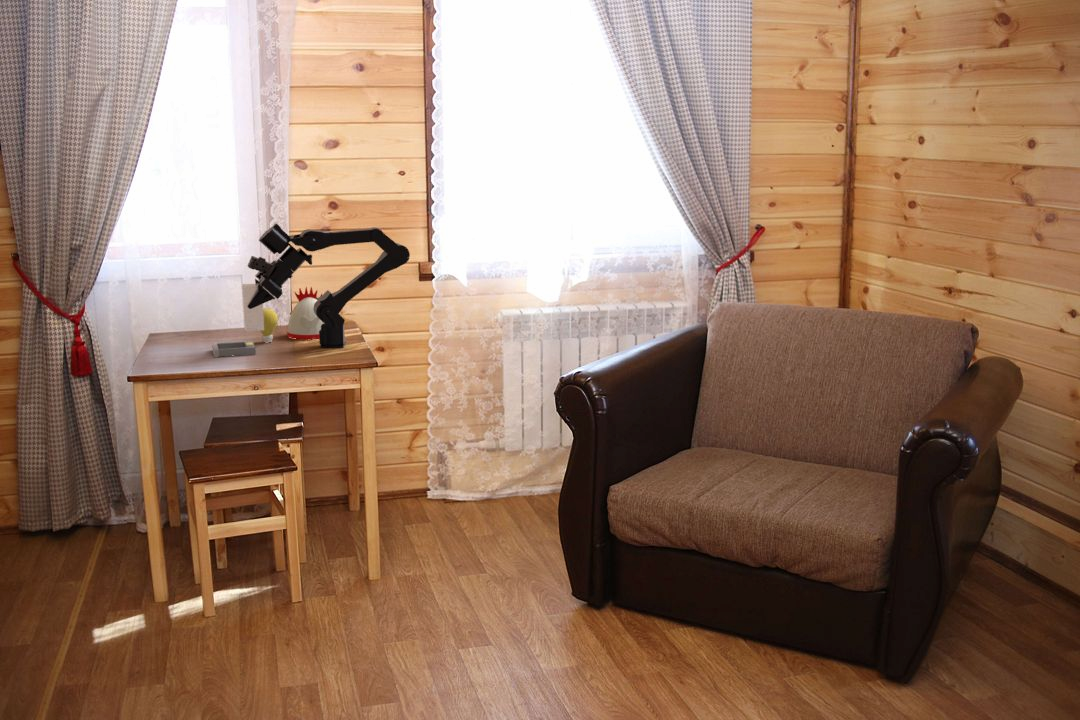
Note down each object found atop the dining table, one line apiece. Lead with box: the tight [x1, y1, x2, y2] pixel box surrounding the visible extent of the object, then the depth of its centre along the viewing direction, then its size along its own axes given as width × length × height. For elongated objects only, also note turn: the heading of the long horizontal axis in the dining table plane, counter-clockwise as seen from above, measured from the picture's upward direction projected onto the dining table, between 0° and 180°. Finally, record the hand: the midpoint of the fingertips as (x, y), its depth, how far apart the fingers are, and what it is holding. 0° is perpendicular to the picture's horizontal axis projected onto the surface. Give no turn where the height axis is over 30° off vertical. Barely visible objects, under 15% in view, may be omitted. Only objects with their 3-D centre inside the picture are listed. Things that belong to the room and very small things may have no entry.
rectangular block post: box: [241, 283, 264, 332], centre depth 296 cm, size 5×5×12 cm
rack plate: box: [211, 340, 256, 358], centre depth 297 cm, size 11×10×2 cm
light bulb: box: [259, 308, 279, 343], centre depth 310 cm, size 7×7×10 cm
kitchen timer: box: [286, 286, 324, 341], centre depth 320 cm, size 14×14×15 cm
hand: (247, 306), depth 296 cm, fingers closed on rectangular block post, 5 cm apart
